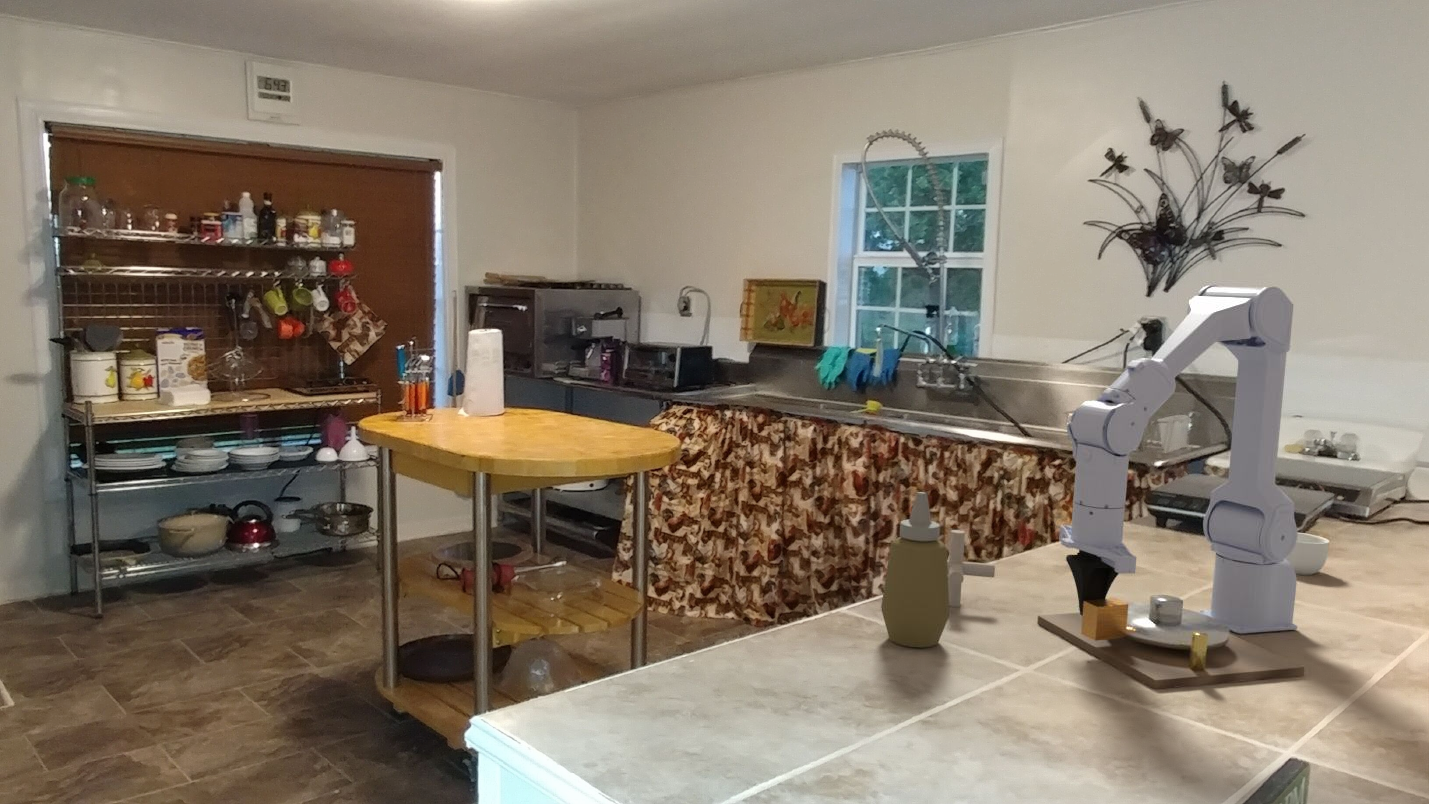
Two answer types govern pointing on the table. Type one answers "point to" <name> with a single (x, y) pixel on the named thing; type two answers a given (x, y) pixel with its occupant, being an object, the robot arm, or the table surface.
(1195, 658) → the dowel
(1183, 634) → the disc with block handle
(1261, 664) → the flat brown board
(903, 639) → the squeeze bottle
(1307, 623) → the table surface
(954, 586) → the pipe connector
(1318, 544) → the teacup
